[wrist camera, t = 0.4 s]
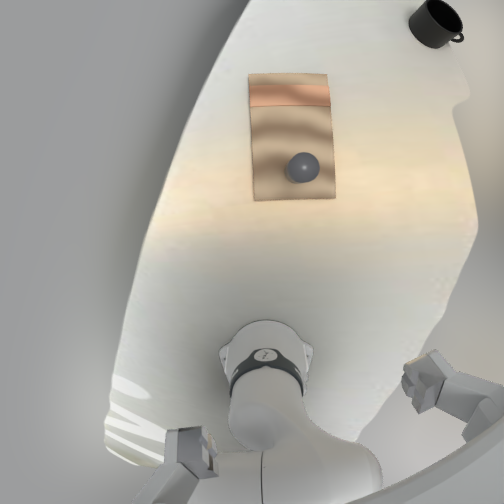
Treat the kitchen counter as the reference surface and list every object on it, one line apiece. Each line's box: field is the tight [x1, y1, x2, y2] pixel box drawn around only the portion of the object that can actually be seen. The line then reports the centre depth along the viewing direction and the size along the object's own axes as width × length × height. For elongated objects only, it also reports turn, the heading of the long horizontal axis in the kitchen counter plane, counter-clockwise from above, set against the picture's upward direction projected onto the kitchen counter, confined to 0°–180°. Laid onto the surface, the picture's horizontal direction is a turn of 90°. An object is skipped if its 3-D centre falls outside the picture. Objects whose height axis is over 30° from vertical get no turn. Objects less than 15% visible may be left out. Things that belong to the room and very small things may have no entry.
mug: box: [409, 0, 464, 48], centre depth 38 cm, size 9×12×9 cm
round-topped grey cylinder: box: [284, 152, 320, 184], centre depth 43 cm, size 4×4×12 cm
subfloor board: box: [249, 73, 336, 200], centre depth 48 cm, size 23×14×2 cm, turn 3°
